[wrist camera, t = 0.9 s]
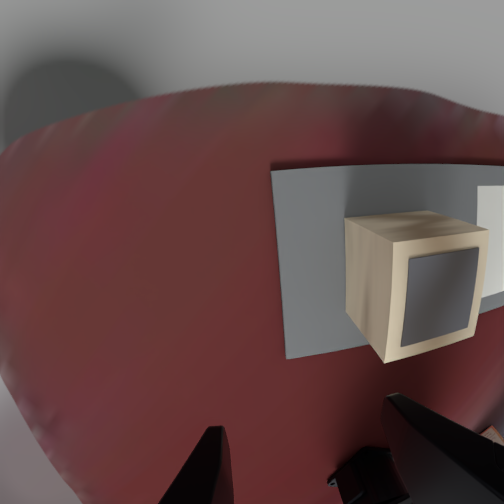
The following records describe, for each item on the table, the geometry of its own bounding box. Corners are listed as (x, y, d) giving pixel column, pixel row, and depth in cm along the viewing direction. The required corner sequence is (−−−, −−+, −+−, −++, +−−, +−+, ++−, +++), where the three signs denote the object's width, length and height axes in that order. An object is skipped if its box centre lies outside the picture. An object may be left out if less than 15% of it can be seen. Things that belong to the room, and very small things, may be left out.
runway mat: (544, 169, 18) (547, 170, 18) (533, 291, 22) (536, 292, 21) (270, 171, 17) (271, 171, 17) (285, 356, 21) (286, 359, 20)
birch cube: (426, 210, 18) (490, 230, 12) (422, 295, 20) (474, 336, 14) (343, 217, 18) (394, 243, 12) (344, 310, 20) (385, 364, 14)
